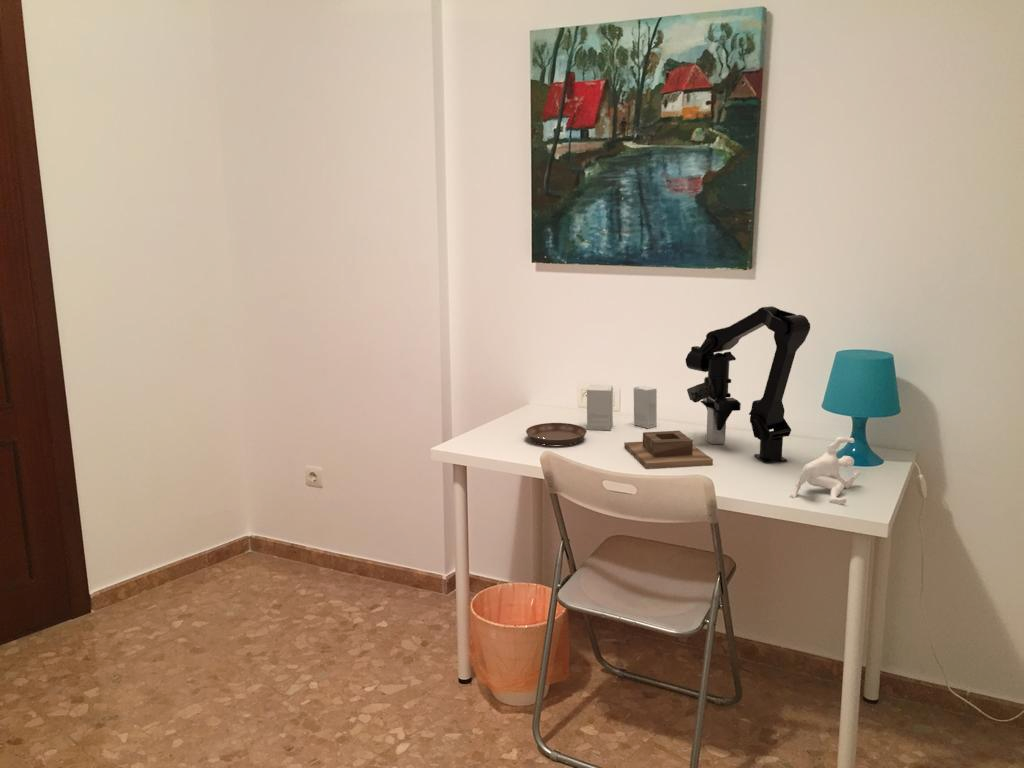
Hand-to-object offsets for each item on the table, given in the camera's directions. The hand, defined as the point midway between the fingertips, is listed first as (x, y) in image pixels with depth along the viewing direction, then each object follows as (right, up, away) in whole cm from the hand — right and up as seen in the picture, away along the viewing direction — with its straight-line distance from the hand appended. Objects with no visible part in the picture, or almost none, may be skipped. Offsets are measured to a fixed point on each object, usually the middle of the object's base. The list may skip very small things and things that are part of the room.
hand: (716, 428), depth 238 cm
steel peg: (0, -4, +1) cm, 4 cm away
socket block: (-16, -7, -12) cm, 21 cm away
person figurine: (+16, -13, -41) cm, 45 cm away
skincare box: (-17, -1, +20) cm, 26 cm away
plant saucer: (-45, -4, +6) cm, 46 cm away
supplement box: (-31, -1, +19) cm, 37 cm away
